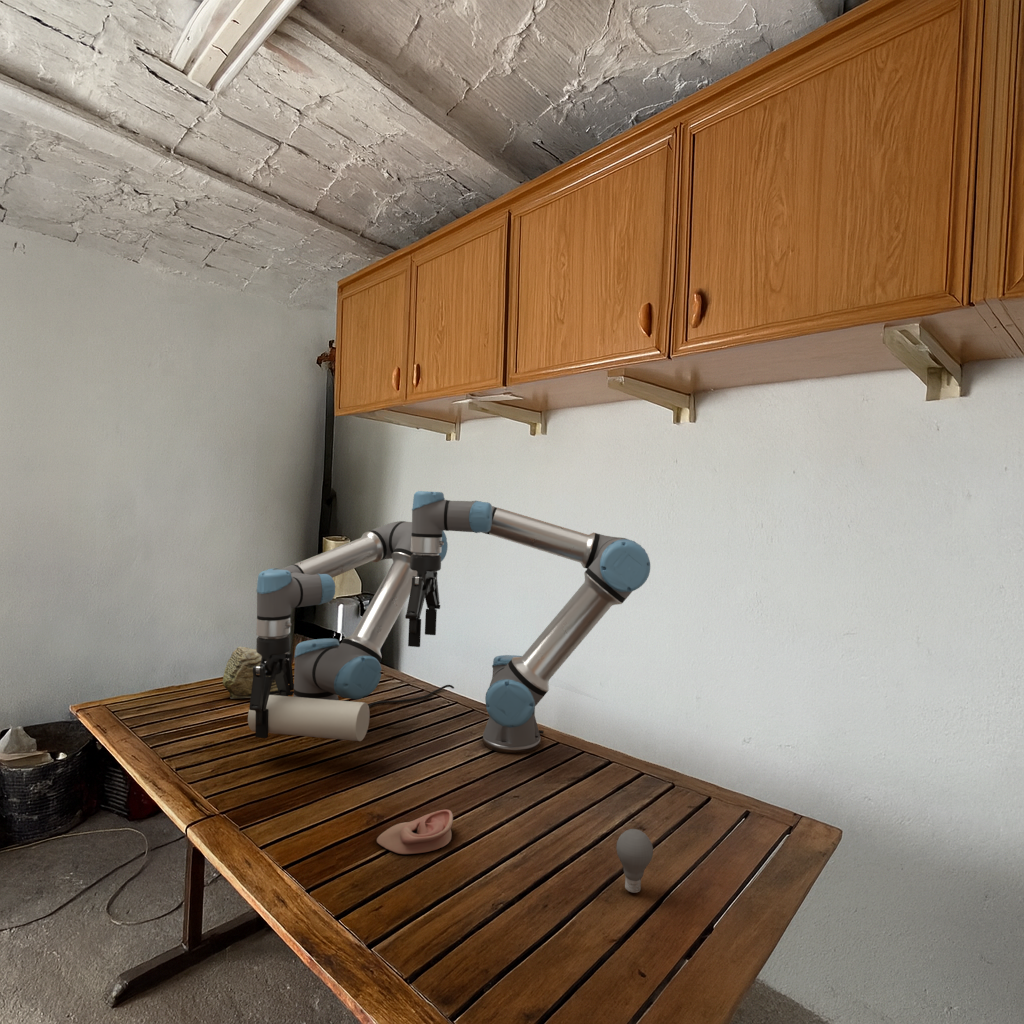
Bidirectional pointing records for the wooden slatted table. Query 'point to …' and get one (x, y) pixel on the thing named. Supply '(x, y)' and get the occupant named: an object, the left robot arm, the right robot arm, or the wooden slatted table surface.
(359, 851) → the wooden slatted table surface
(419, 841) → the anatomical model
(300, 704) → the rod
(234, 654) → the fossil
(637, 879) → the light bulb
